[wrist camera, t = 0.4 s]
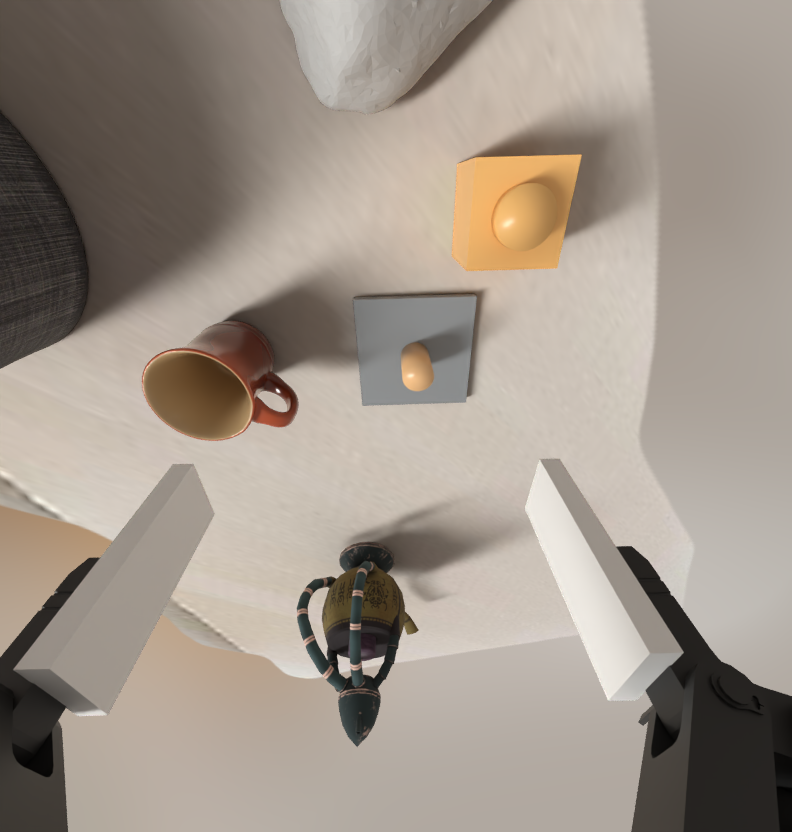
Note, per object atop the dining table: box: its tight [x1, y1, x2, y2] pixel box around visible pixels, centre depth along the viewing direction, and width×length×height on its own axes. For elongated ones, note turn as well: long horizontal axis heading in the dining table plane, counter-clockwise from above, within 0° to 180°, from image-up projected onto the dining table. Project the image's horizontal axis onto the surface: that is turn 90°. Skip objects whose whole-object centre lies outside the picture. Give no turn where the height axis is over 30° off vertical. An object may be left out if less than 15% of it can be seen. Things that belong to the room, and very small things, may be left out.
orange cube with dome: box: [452, 154, 582, 271], centre depth 27 cm, size 7×7×9 cm
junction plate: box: [353, 294, 477, 406], centre depth 35 cm, size 12×12×6 cm
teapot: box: [297, 542, 418, 746], centre depth 50 cm, size 12×25×23 cm, turn 29°
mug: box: [142, 321, 298, 441], centre depth 33 cm, size 12×9×10 cm
